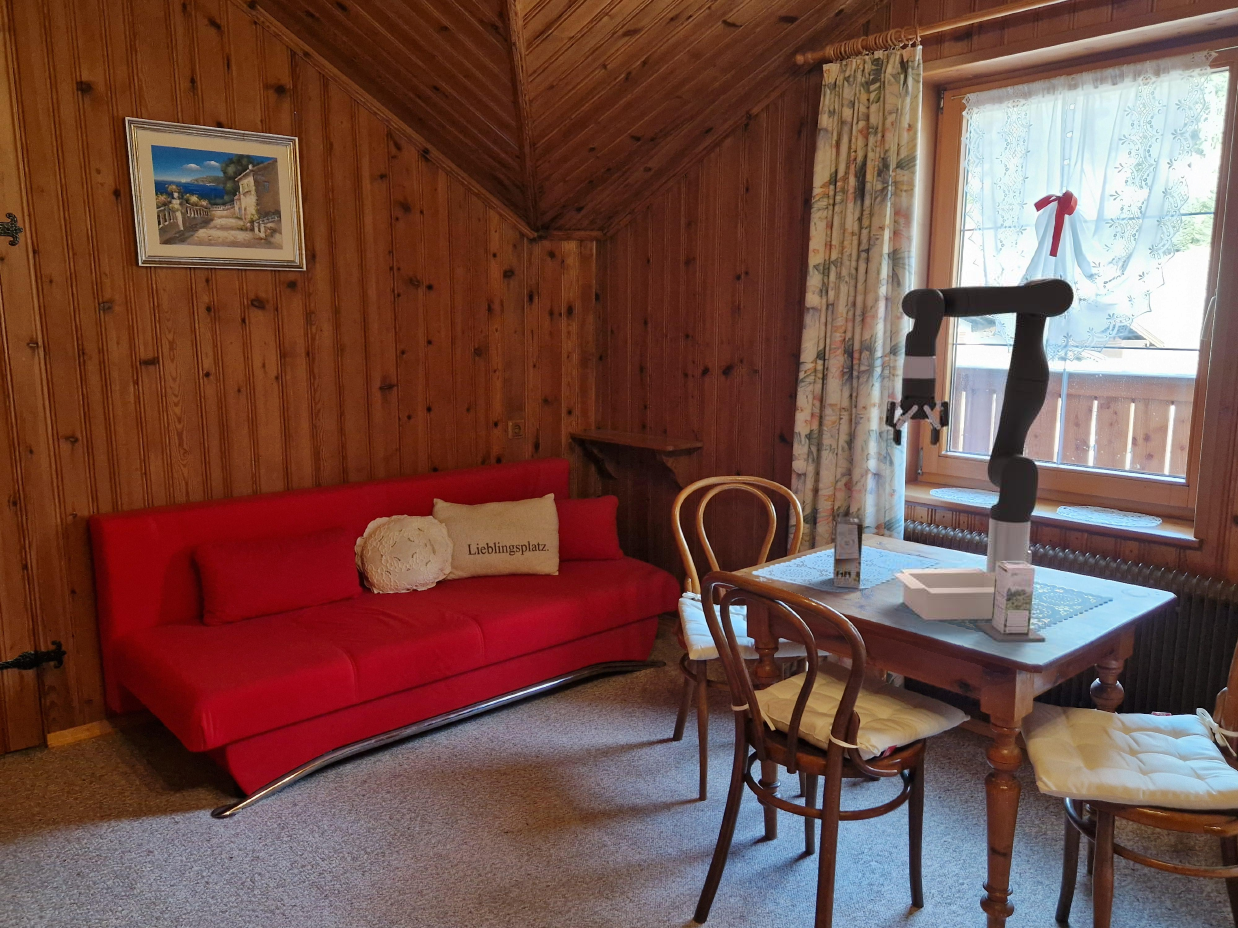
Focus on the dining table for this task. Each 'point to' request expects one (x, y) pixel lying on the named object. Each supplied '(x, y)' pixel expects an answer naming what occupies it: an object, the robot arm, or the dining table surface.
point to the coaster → (1009, 637)
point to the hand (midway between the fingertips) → (915, 445)
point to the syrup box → (1013, 597)
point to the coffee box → (847, 551)
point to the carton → (948, 593)
